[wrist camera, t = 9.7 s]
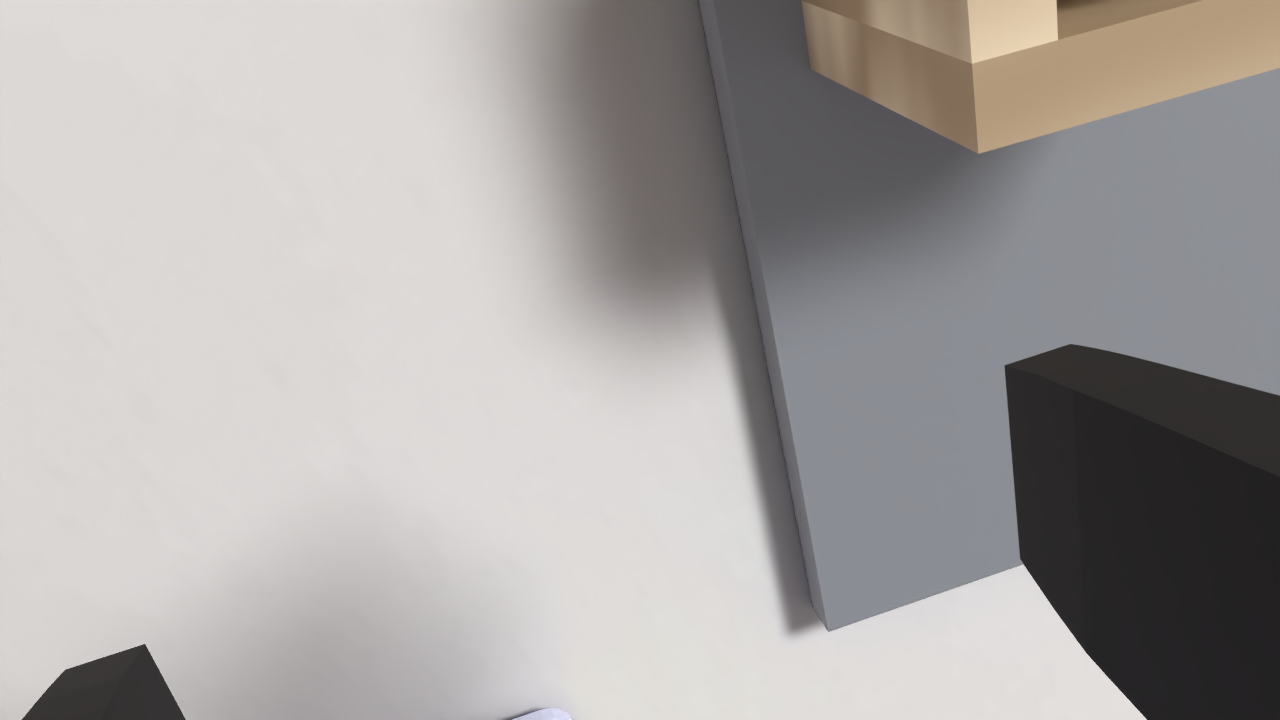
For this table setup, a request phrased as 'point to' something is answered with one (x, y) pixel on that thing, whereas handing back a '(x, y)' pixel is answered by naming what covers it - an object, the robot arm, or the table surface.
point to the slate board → (971, 290)
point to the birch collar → (1034, 58)
